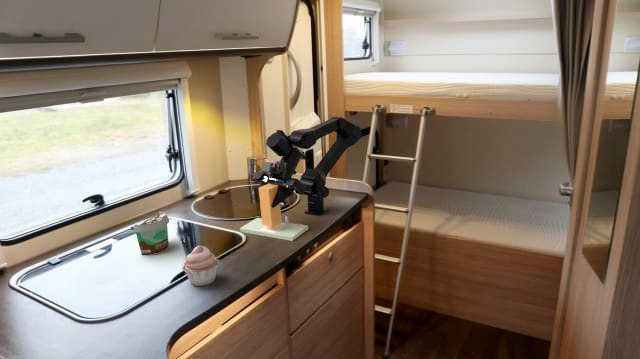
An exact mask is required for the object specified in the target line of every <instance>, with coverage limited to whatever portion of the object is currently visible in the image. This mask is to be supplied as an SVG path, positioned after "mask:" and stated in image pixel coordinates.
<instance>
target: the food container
mask: <svg viewBox="0 0 640 359" xmlns="http://www.w3.org/2000/svg"><path fill="white" fill-rule="evenodd" d="M169 222H170V218H169V216H168V215H167V214H166V212H164V211H158V214H157V215H155V216H154V217H151V218H148V219H146V220H145V221H144V222H142V223H141V224H133V233H135V235H136V238H137V242H138V246H139V247H138V248H139V249H140V254H141V255H142V256H149V255H155V254H160V253H162V252H164V251H166V250H167V249H168V248H169V231H168V224H169Z"/></svg>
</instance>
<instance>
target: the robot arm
mask: <svg viewBox="0 0 640 359" xmlns="http://www.w3.org/2000/svg"><path fill="white" fill-rule="evenodd" d="M332 133H336V136H335V138H336V139H335V141H334V143H333V144H332V145H331V146H330V148H329V149H328V151H327V152H326V153H325V155H324V156H323V157H322V158H321V159H320V161H319V162H318V164H317V165H316V166H315V167H314V168H306V169H305V171H304V172H303V173H302V174H301V175H300V179H299V178H294V177H293V175H296V174H297V171H296V169H297V166H298V164H299V163H300V161H301V160H303V161H306V160H307V158H306V157H307V156H306V154H305V151H304V150H309V149H311V148H312V147H313V146H315V145H317V144H316V143H317V141H318V140H320V139H322V138H323V137H326V136H327V135H330V134H332ZM362 136H363V132H362V129H361V127H360V126H359V125H355V124H354V123H353V122H350V121H348V120H347V119H345V118H344V117H342V116H332V117H330V118H329V119H326V120H324V121H323V122H321V123H318V124H316V125H314V126H312V127H310V128H309V127H308V128H300V129H296V130H293V131H291V133H290V134H288V135H287V134H286V133H285V132H284V131H283V130H282V129H276V132H273V133H272V134H270V136H268V137H267V139H266V141H265V143H266V144H265V145H266V147H268V148H269V149H270V151H272V152H273V153H274V154H275V155H276V156H278V157H281V158H280V160H277V161H276V162H275V163H274V162H270V161H264V160H263V162H262V166H261V170H260V171H256V172H254V174H253V176H252V180H254V181H255V182H257V183H258V184H259V185H260V187H261V186H264V185H267V184H272V185H277V186H278V191H277V194H276V196H275V198H274V200H273V203H272V206H271V207H272V208H274V207H276V206H277V205H278V204H279V203H280V204H281V203H282V202H283V201H284V200H287V198H289V197H290V196H294V195H295V194H296V195H297V194H298V195H302V196H307V197H306V198H307V209H306V210H305V211H304V214H306V215H307V214H308V215H315V216H322V215H323V214H325V213H326V212H327V211H329V208H328V207H325V199H326V198H327V197H329V196H330V189H329V188H328V187H327V186H326V184H327V176H328V175H329V173H331V171H332V170H333V168H334V167H335V165H336V164H337V163H338V161H339V160H340V159H341V157H342V156H343V154H344V153H345V152H346V150H347V149H348V148H350V147H351V148H352V147H353V146H355V145H356V144H357V143H358V142H359V141H360V140H361V138H362ZM300 149H303V151H302V150H300ZM267 173H268V174H267ZM294 192H295V193H294Z"/></svg>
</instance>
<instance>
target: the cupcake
mask: <svg viewBox="0 0 640 359" xmlns="http://www.w3.org/2000/svg"><path fill="white" fill-rule="evenodd" d="M219 262H220V259H217V257H216V256H215V254H214V253H213V252H211V250H210V249H209V248H208V247H206V246H203V245H198V246H195V247H194V248H193V249H192V251H191V253H190V252H189V254H187V256H186V257H185V262H184V263H183V266H182V267H181V269H182V270H183V271H184V272H185V274H186V276H187V278H188V280H189V282H190V284H191V285H192V286H194V287H203V286H204V287H205V286H207V285H210V284H212V283H214V281H215V280H216V277H217V276H216V275H217V268H218V267H219Z"/></svg>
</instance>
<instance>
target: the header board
mask: <svg viewBox="0 0 640 359" xmlns="http://www.w3.org/2000/svg"><path fill="white" fill-rule="evenodd" d="M282 217H283V216H281V222H282V223H281V224H278V225H276V226H274V227H268V226H265V225H262V217H256V218H254V219H253V220H251V221H249V222H247V223H246V224H244V225H243V226H241V227H239V232H241V233H245V234H252V235H256V236H264V237H268V238H272V239H273V238H274V239H279V240H285V241H290V242H293V241H295V240H296V239H298V237H300V236H301V235H302V234H304V233H306V231H308V230H309V225H307V224H306V225H305V224H301V223H292V222H289V217H288V215H285V216H284V221H283V219H282Z"/></svg>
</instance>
